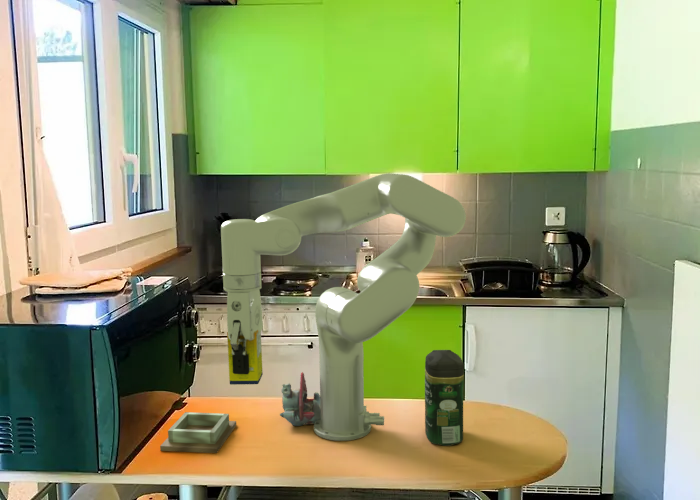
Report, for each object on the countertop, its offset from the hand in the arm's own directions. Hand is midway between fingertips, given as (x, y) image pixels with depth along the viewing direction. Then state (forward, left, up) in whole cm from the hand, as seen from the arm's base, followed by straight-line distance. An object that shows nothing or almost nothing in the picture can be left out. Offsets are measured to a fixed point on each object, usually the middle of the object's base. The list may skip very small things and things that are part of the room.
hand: (245, 367), depth 139 cm
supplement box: (0, 0, -3) cm, 3 cm away
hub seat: (+12, -4, -17) cm, 21 cm away
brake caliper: (-8, -15, -17) cm, 25 cm away
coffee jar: (-40, -9, -18) cm, 45 cm away
